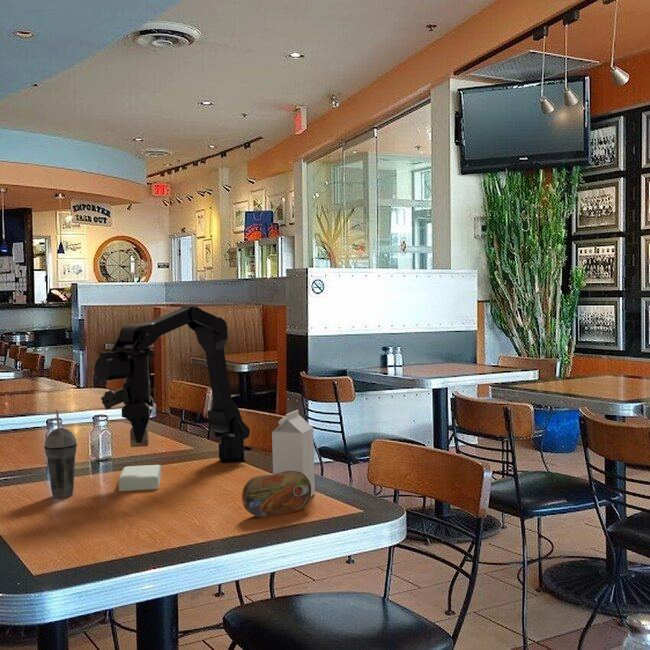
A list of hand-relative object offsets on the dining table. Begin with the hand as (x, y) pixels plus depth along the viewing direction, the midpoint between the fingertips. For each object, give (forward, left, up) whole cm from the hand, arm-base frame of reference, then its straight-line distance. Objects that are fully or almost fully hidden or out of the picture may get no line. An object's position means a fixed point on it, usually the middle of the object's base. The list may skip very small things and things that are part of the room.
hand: (139, 441), depth 196 cm
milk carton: (-35, +23, -11) cm, 43 cm away
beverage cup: (+17, +8, -11) cm, 22 cm away
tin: (-30, +35, -11) cm, 47 cm away
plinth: (0, 0, -10) cm, 10 cm away
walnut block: (0, 0, -1) cm, 1 cm away
